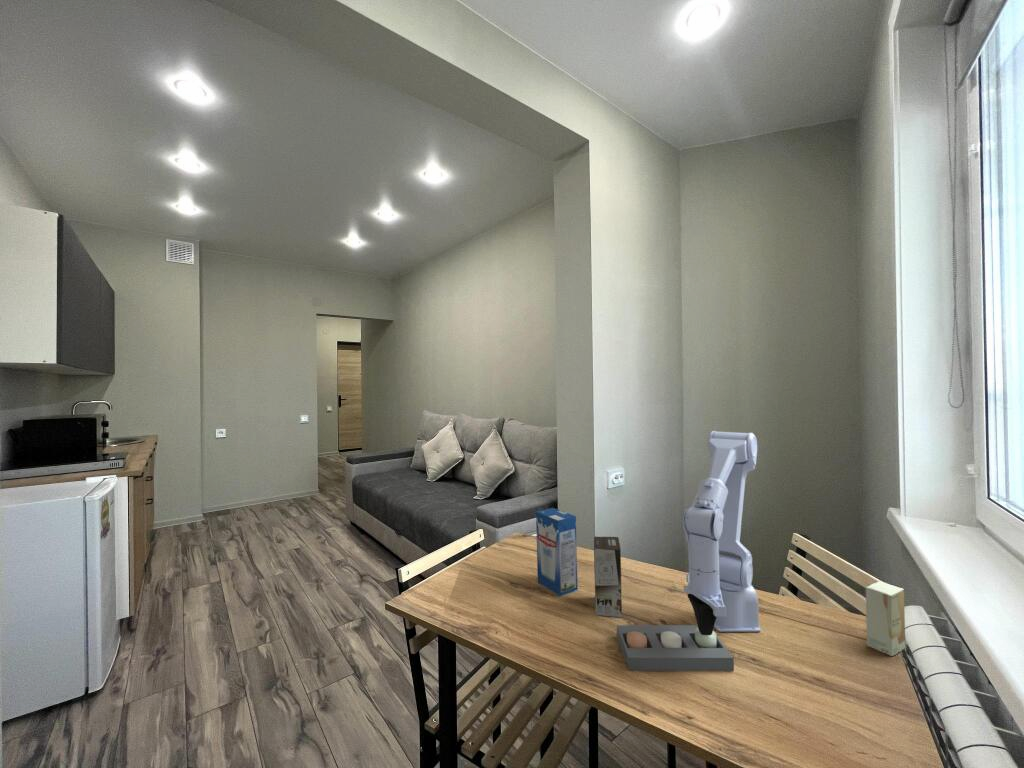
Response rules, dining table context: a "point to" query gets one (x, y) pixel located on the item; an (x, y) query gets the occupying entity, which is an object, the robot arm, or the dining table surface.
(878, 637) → the skincare box
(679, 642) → the white rounded piece
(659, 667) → the button panel
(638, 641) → the terracotta button
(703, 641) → the pale green egg
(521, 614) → the dining table surface
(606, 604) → the coffee box
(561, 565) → the milk carton
